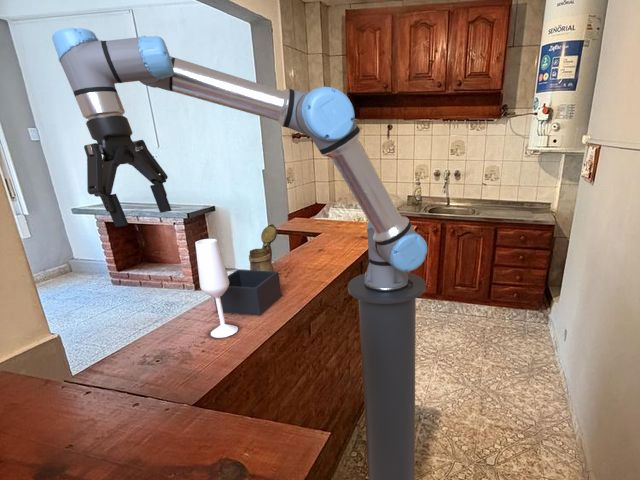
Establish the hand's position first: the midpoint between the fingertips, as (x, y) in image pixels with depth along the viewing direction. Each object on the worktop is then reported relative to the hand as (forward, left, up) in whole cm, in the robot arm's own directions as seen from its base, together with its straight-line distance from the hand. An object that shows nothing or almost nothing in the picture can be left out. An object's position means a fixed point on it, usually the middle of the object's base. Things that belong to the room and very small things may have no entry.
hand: (145, 218), depth 90 cm
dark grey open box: (-9, -21, -30) cm, 38 cm away
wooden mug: (-5, -40, -30) cm, 50 cm away
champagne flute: (-11, -4, -30) cm, 33 cm away
